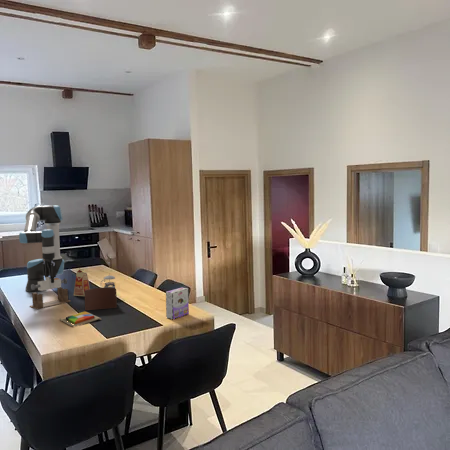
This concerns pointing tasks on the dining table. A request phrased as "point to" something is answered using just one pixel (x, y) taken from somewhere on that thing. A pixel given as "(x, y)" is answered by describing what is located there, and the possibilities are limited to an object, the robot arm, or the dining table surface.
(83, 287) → the milk carton
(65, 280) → the white block with pegs
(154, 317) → the dining table surface
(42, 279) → the robot arm
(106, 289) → the letter holder
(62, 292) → the cradle rack
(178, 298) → the candy box
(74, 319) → the wooden puzzle
